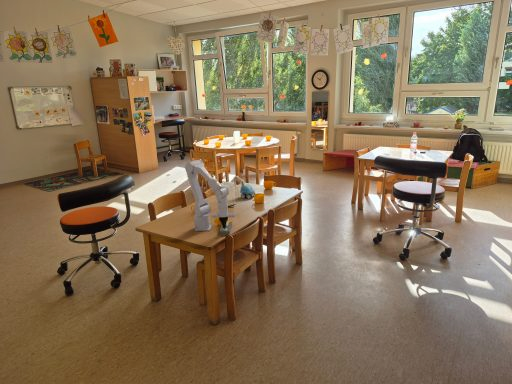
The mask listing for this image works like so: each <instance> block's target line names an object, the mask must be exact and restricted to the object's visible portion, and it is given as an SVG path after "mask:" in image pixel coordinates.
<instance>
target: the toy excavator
mask: <svg viewBox="0 0 512 384" xmlns="http://www.w3.org/2000/svg"><path fill="white" fill-rule="evenodd" d="M233 182H234V183H237V182H239V183H240V184H241V186H240V190H239V193H240V198H241V199H246V198H247V199H248V200H251V199H252V198H253V196H254V195H255V196H256V192H255V190H254V189H253V187H252V185H251V184H248V183H247V184H245V181H244V180H243V179H242V178H240V177H239V175H236V176H234V177H233ZM255 196H254V197H255Z"/></svg>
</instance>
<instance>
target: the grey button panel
mask: <svg viewBox="0 0 512 384" xmlns="http://www.w3.org/2000/svg"><path fill="white" fill-rule="evenodd" d="M229 222H230V224H228V225H229V227H228V228H227V229H228V231H222V229H223V226H222V224H220V225H221V226H220V228H219V236H230V234H231V232H232V228H233V221H229Z"/></svg>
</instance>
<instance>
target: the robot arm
mask: <svg viewBox="0 0 512 384" xmlns="http://www.w3.org/2000/svg"><path fill="white" fill-rule="evenodd" d="M184 169H185V172H186V177H187V179H188V182H189V185H190V189H191V192H192V194H193V198H194V201H195V202H194V205H193V209H194V210H193V211H194V212H193V213H194V217H193V223H194V231H195V232H198V231H199V232H200V231H204V232H205V231H210V230H211V227H212V224H211V222H210V215H211V219H214V218H218V221H219V223H220V225H222V226H223V229H226V223H227V221H229V220H228V219H229V218H234V219H235V218H236V217H237V215H236V214H237V213H232V212H229V207H228V206H229V205H228V195H229V189H228V187H227V186H224V185H222V184H221V183H220V182H219V181H218V179H217V178H215V177H214V178H213V176H211V174H210V173H209V172H208V170H207V169H206V167H205V164H204V162H203V161H202V160H201V159H195V160H193V161H189V162H186V163H185V166H184ZM198 174H200V176H202V177H203V178H204V179H205V181H207V185H208V186H209V188H211V190H212V191H213V192H214V196H215V199H216V201H217V208H218V209H217V211H218V213H217V212H216V213H211V210H212V207H211V205H210V204H209V202H208V200H206V199H205V198H204V195H203V192H202V189H201V186H200V183H199V180H198V177H197V176H198ZM210 213H211V214H210Z"/></svg>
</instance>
